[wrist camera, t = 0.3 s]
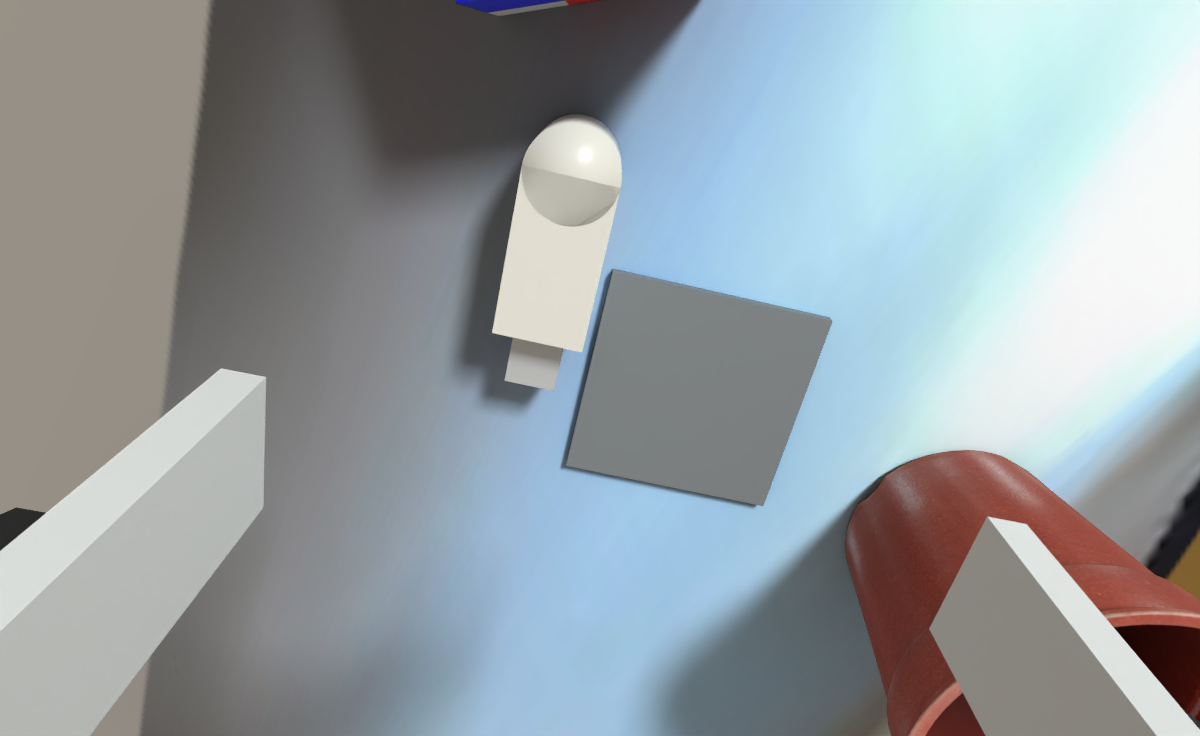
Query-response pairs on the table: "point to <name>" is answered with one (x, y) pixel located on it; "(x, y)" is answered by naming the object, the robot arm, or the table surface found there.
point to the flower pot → (936, 553)
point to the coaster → (693, 387)
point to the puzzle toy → (515, 5)
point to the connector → (557, 245)
